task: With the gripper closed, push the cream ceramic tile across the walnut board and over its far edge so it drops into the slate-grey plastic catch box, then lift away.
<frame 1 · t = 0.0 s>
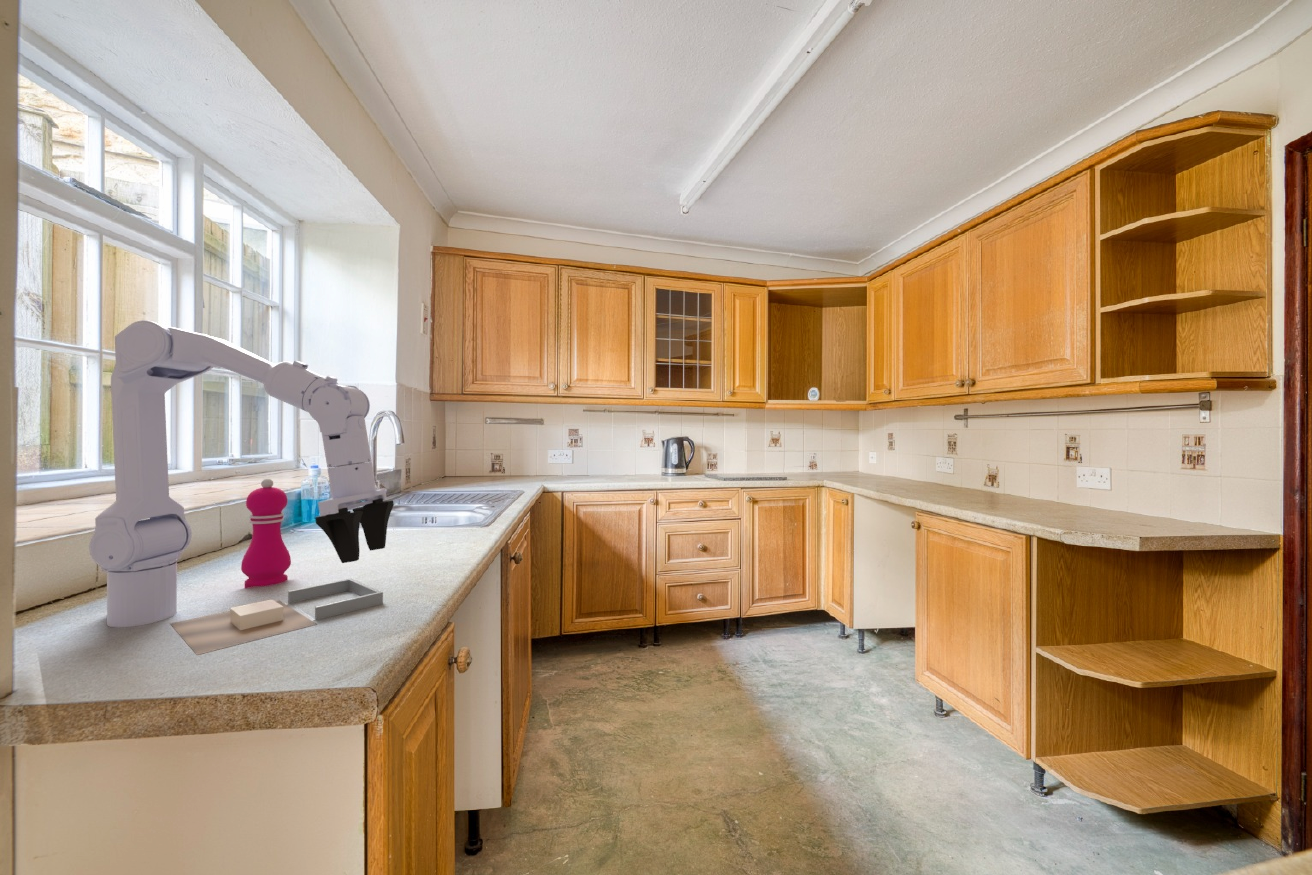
hand: (364, 555, 76), 11 cm above the worktop, tool pointing down, fingers open, 7 cm apart
tile: (256, 620, 74), point 1 cm above the worktop, touching board
pepper mill: (266, 588, 93), on the worktop
catch box: (333, 610, 82), on the worktop
board: (243, 632, 73), on the worktop
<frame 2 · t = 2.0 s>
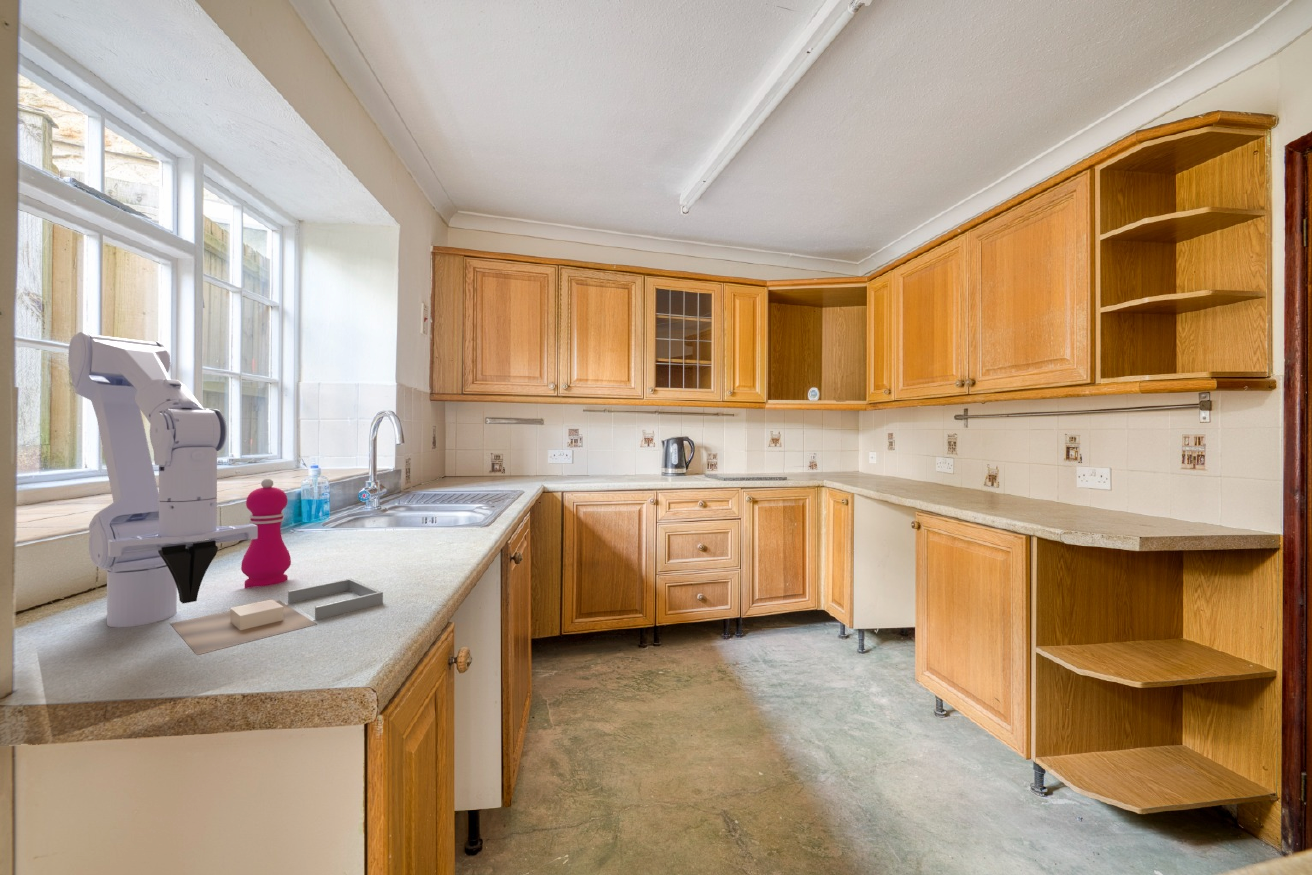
hand: (188, 600, 68), 6 cm above the worktop, tool pointing down, fingers closed
nothing on the worktop moved.
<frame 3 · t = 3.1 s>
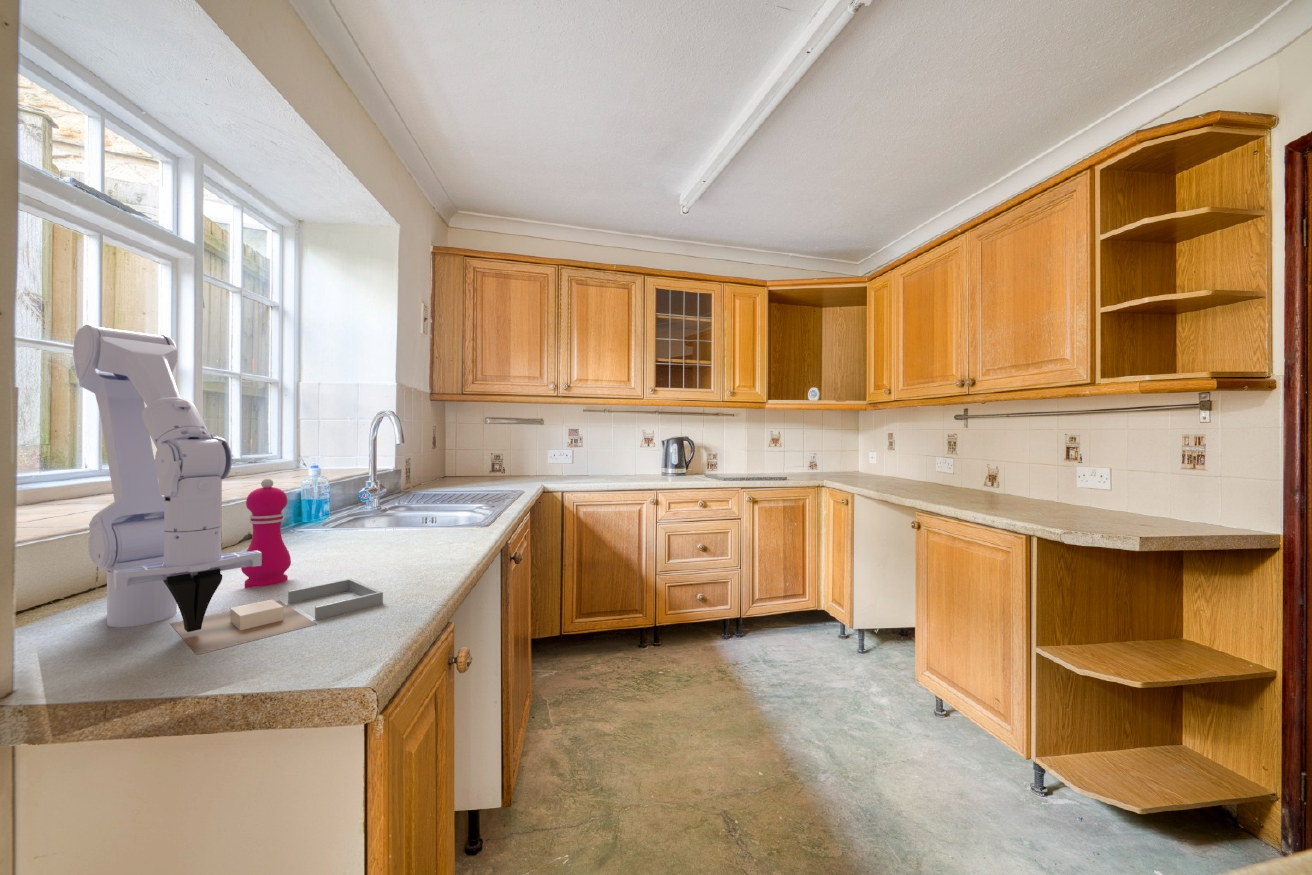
hand: (192, 628, 68), 2 cm above the worktop, tool pointing down, fingers closed
nothing on the worktop moved.
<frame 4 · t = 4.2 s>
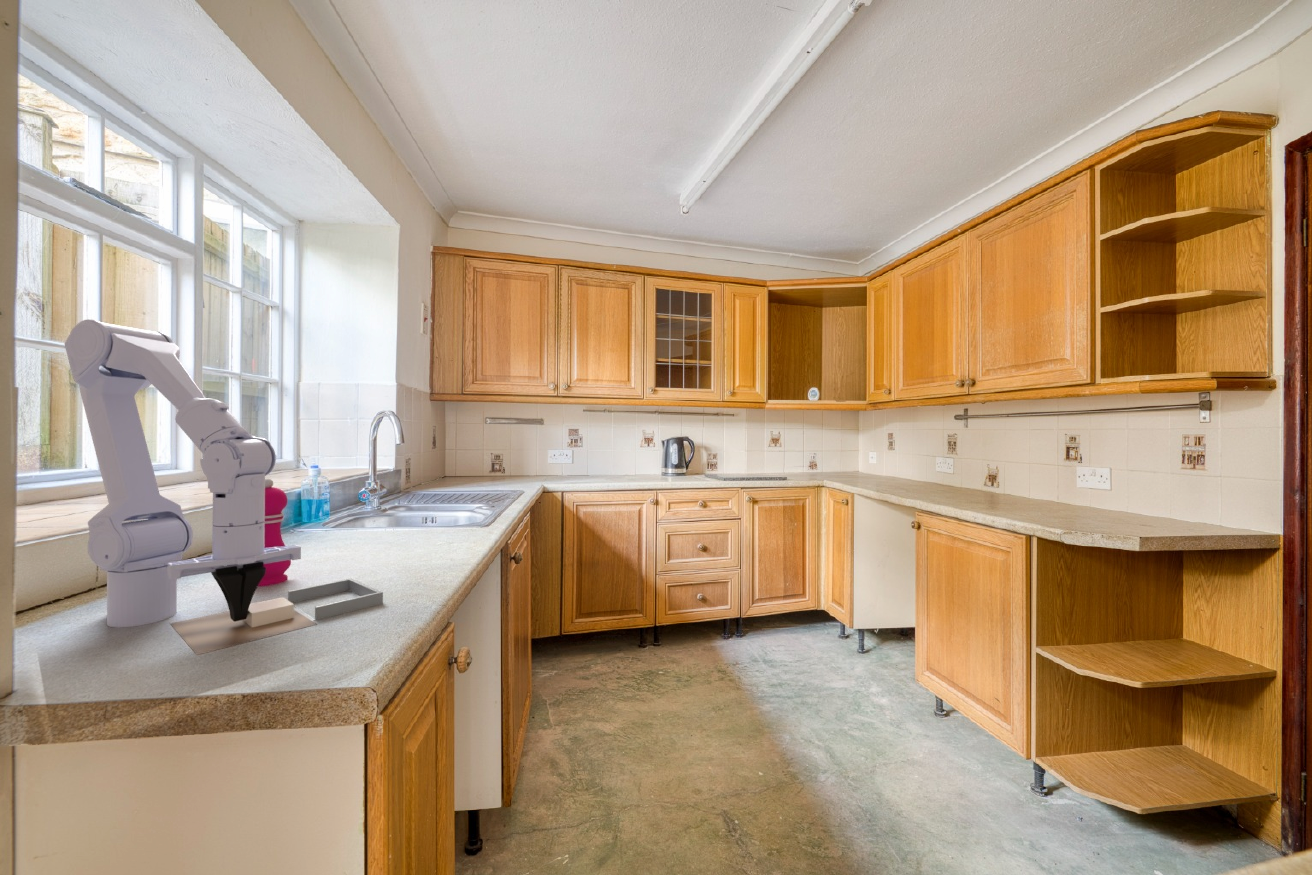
hand: (238, 618, 72), 2 cm above the worktop, tool pointing down, fingers closed
tile: (268, 618, 75), point 1 cm above the worktop, touching board, gripper
everything else where it was.
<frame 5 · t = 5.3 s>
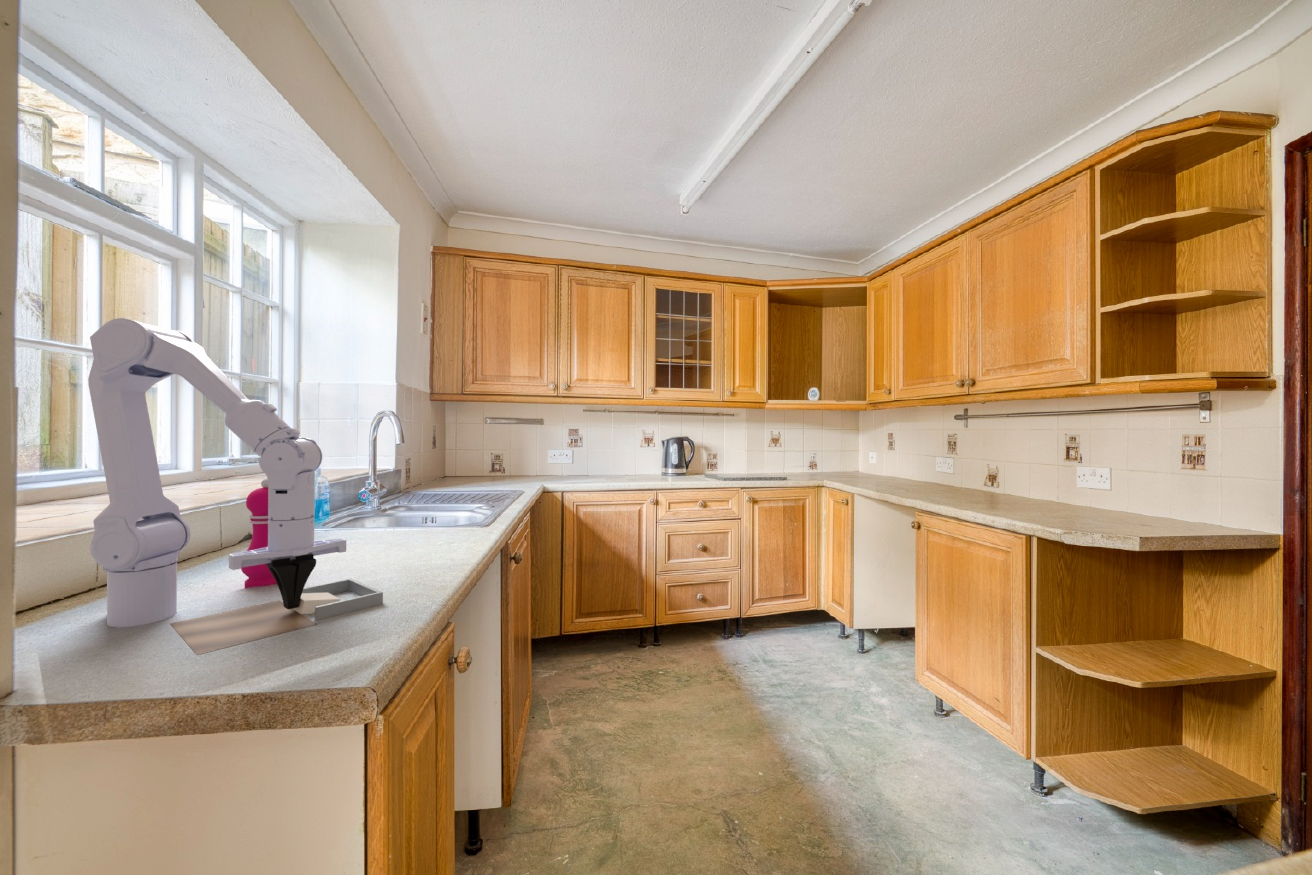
hand: (291, 606, 77), 2 cm above the worktop, tool pointing down, fingers closed
tile: (313, 609, 80), point 1 cm above the worktop, tilted 11°, touching catch box, gripper
everything else where it was.
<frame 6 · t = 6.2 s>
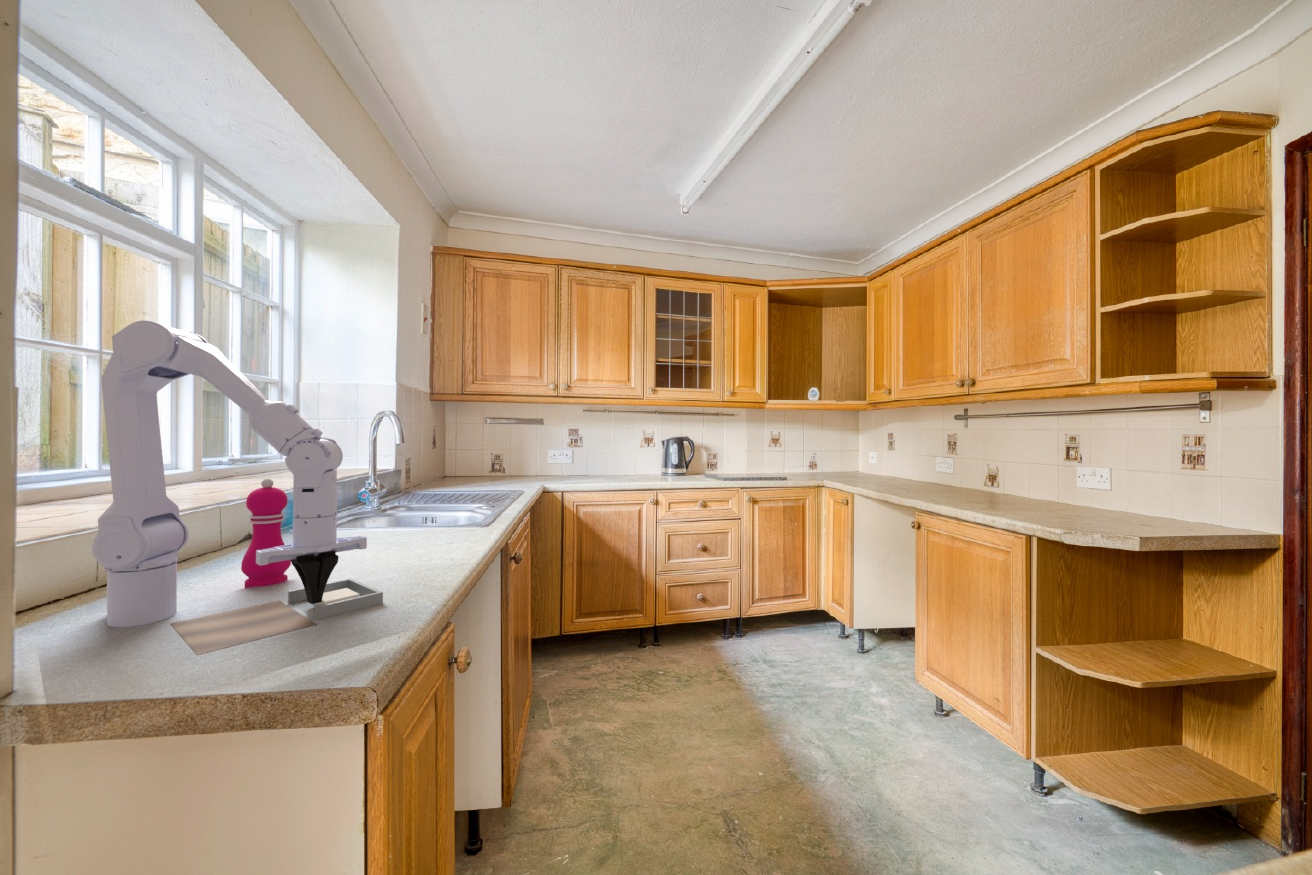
hand: (314, 601, 80), 2 cm above the worktop, tool pointing down, fingers closed
tile: (336, 606, 82), resting in catch box, touching gripper
everything else where it was.
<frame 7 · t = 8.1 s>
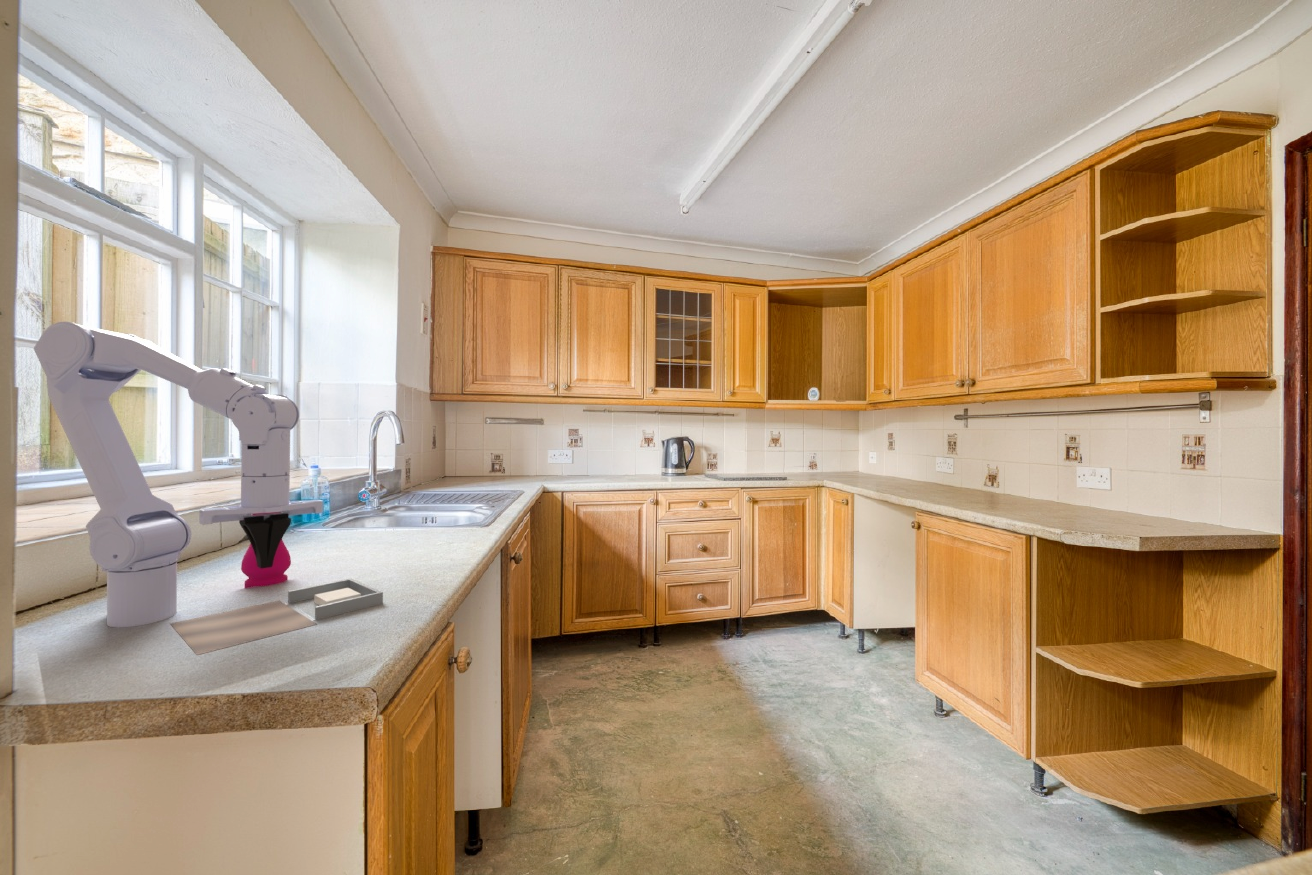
hand: (264, 566, 75), 9 cm above the worktop, tool pointing down, fingers closed
tile: (337, 606, 82), resting in catch box
everything else where it was.
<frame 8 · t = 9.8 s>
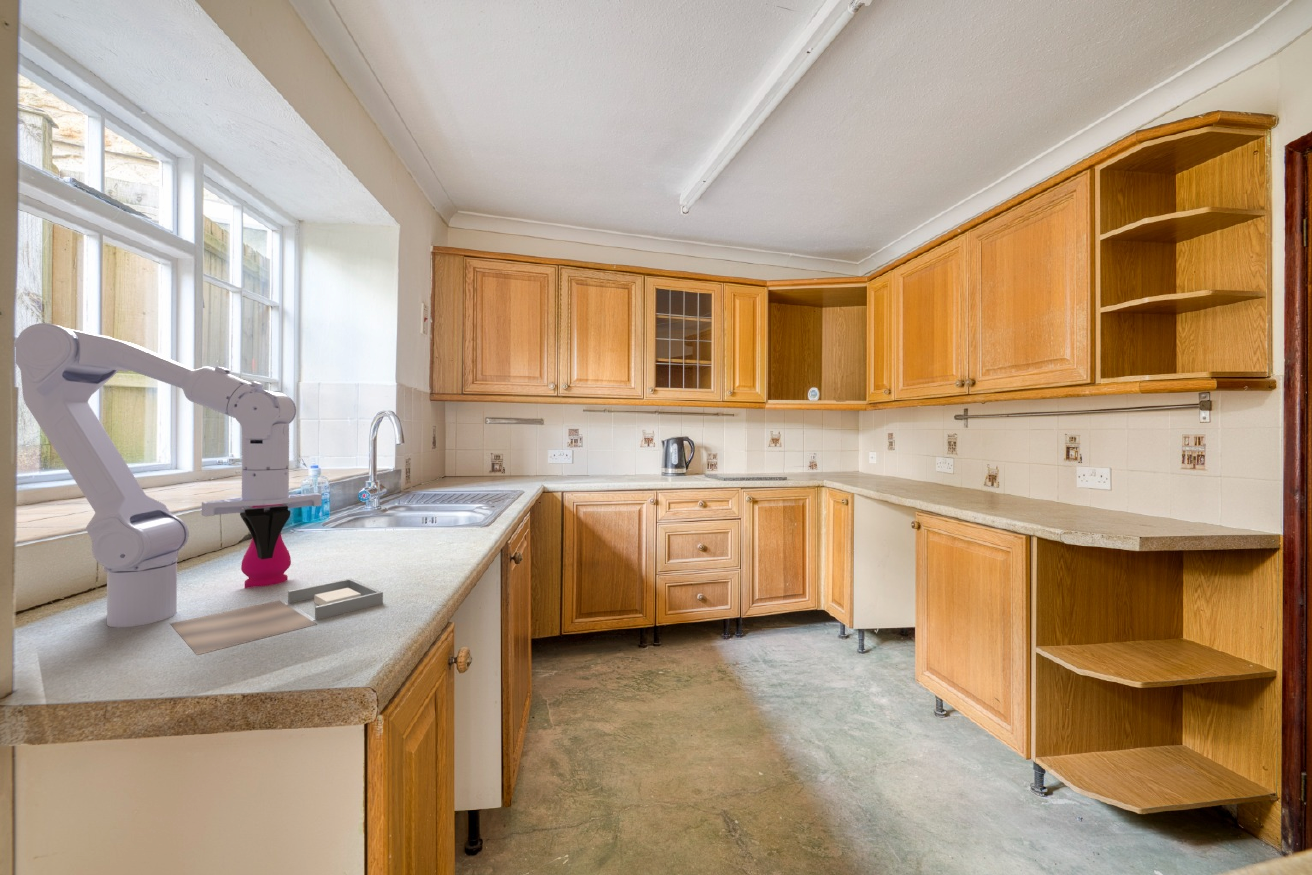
hand: (265, 557, 78), 9 cm above the worktop, tool pointing down, fingers closed
nothing on the worktop moved.
at the end: tile inside the target area on the catch box (0.8 cm from its centre), point 0.4 cm above the catch box's base; tile touching catch box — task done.
